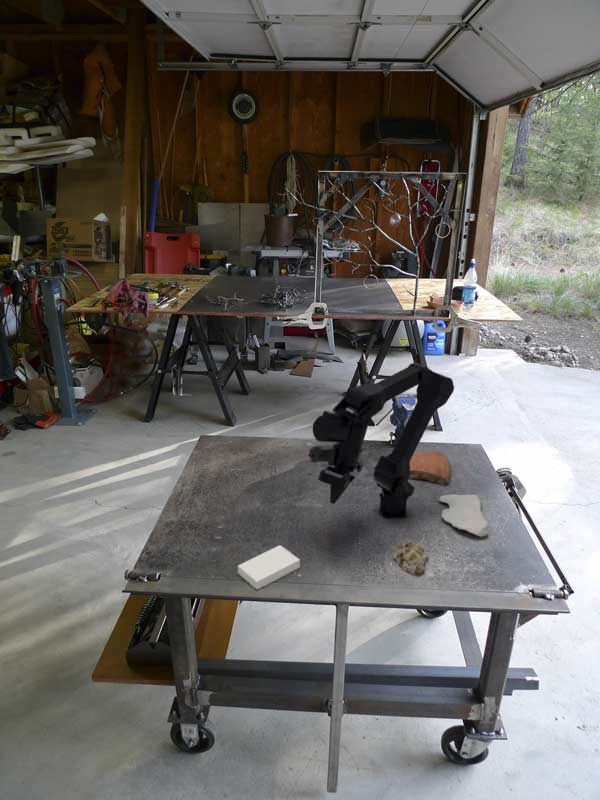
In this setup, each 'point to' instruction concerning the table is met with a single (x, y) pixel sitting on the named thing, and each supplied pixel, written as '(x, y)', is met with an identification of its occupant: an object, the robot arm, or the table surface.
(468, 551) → the table surface
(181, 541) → the table surface
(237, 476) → the table surface
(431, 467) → the ceramic shard
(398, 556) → the mineral rock
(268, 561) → the tile
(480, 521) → the stone
